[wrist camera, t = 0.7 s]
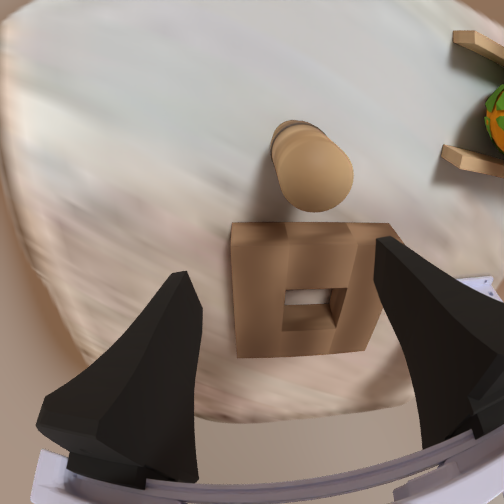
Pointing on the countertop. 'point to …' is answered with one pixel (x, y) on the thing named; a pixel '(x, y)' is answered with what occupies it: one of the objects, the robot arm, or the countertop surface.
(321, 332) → the walnut block
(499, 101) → the green orange papaya
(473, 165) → the chock rails
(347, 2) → the countertop surface
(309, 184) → the peg
